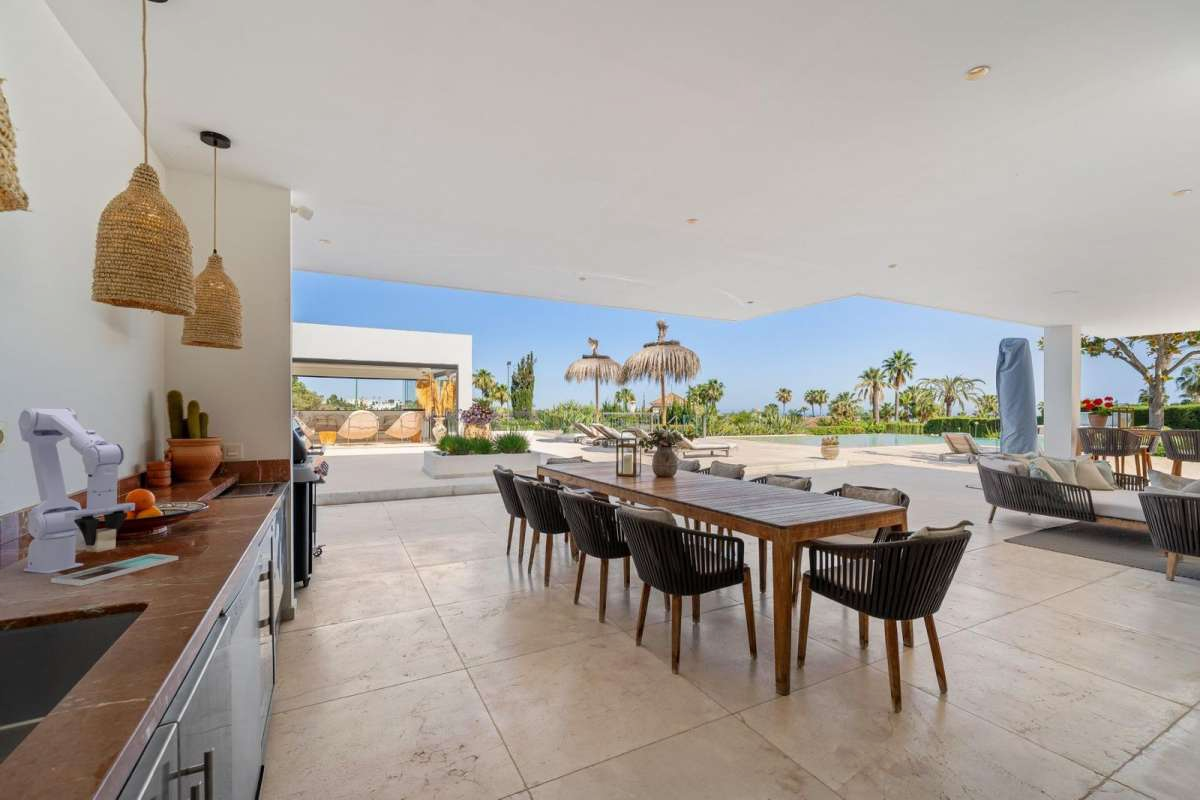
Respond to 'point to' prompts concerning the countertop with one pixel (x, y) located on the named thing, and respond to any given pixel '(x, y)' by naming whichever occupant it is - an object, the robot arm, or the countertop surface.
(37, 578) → the countertop surface
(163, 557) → the rail frame
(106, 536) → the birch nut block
